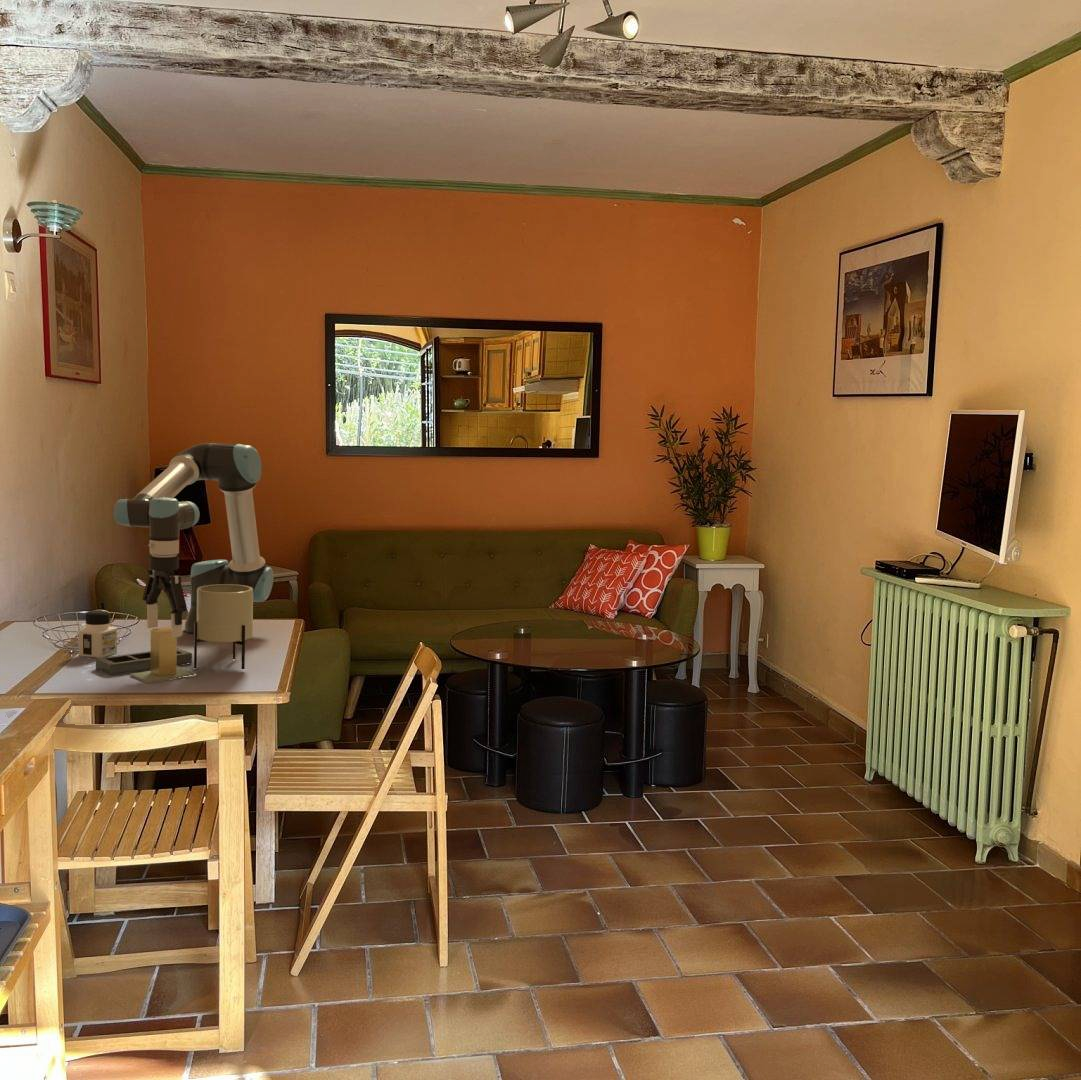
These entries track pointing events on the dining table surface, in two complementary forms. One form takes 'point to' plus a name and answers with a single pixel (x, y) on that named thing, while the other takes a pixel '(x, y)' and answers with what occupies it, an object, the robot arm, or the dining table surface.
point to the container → (97, 635)
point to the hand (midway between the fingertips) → (164, 631)
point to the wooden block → (163, 652)
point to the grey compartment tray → (134, 662)
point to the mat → (153, 678)
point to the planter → (224, 616)
